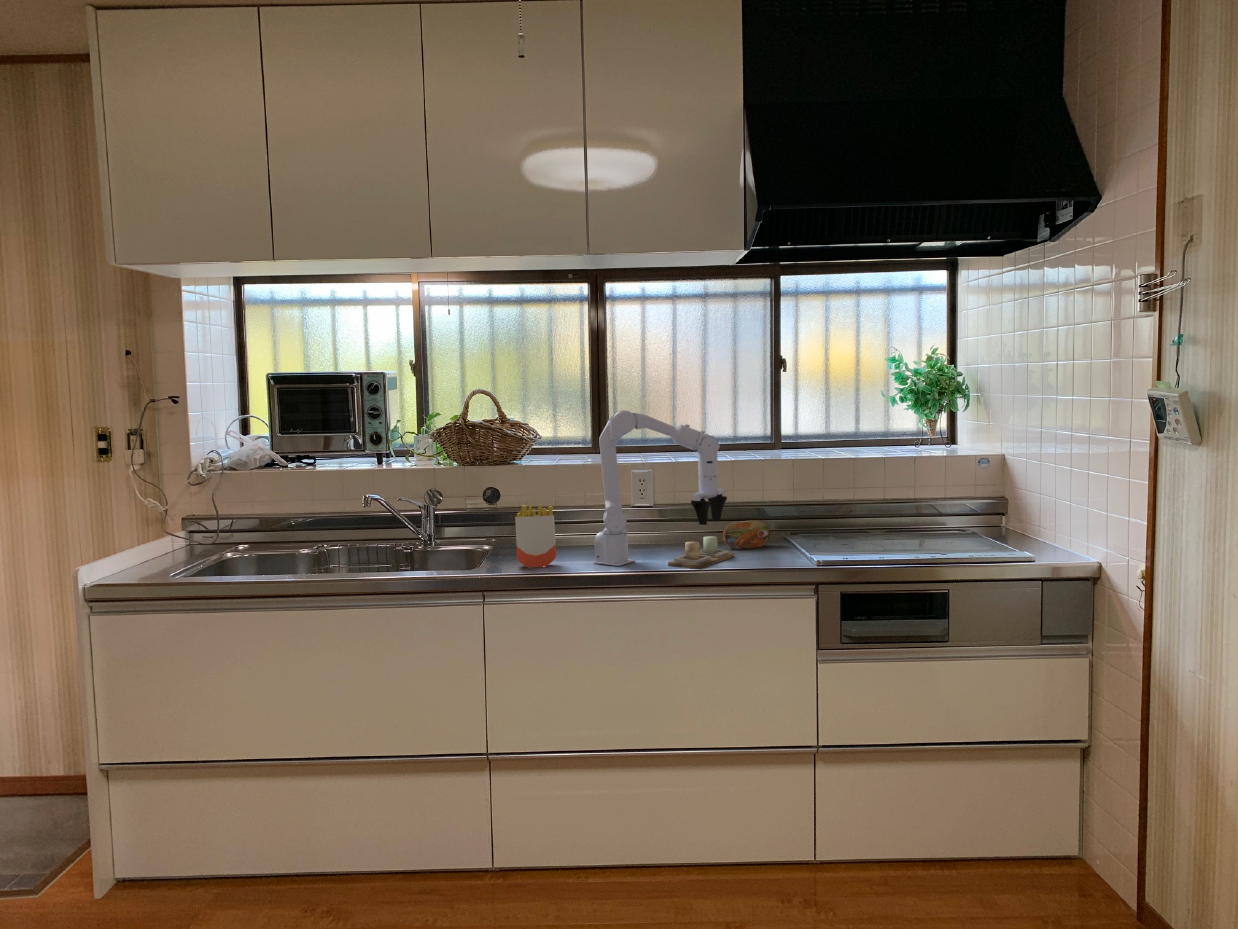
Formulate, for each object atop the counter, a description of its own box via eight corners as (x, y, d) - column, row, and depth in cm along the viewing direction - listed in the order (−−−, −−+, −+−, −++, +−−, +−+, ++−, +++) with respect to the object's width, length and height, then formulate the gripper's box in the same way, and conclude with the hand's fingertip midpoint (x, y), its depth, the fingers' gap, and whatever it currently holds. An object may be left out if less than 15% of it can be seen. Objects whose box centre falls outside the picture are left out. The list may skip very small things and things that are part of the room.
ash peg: (682, 560, 234) (682, 543, 234) (690, 558, 237) (690, 541, 237) (694, 562, 232) (694, 544, 231) (702, 559, 235) (702, 542, 234)
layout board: (668, 565, 234) (667, 558, 233) (704, 554, 250) (704, 547, 249) (698, 569, 228) (698, 561, 228) (734, 556, 244) (734, 549, 243)
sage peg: (701, 555, 242) (700, 538, 242) (708, 552, 245) (707, 535, 245) (713, 556, 240) (712, 539, 239) (720, 553, 243) (719, 536, 243)
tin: (725, 550, 254) (725, 523, 254) (721, 548, 258) (721, 521, 257) (770, 546, 258) (770, 519, 258) (766, 544, 261) (765, 518, 261)
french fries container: (519, 565, 243) (516, 504, 241) (556, 564, 243) (554, 502, 241) (517, 568, 238) (514, 506, 237) (555, 567, 238) (552, 504, 237)
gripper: (707, 478, 233) (708, 527, 234) (732, 474, 244) (734, 520, 245) (686, 478, 237) (687, 525, 238) (711, 473, 248) (713, 518, 249)
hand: (709, 522), depth 242 cm, fingers open, 7 cm apart
